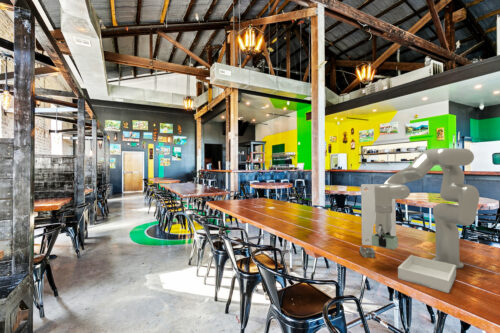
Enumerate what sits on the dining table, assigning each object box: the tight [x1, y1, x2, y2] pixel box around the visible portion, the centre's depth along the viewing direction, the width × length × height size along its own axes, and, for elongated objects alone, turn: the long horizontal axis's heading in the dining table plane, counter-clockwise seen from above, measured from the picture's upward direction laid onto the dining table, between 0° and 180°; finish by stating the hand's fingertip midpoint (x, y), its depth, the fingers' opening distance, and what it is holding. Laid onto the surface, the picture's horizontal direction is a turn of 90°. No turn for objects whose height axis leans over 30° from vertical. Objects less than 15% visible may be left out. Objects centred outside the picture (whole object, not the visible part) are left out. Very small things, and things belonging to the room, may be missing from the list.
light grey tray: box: [397, 254, 457, 294], centre depth 109 cm, size 22×18×5 cm
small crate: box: [371, 232, 399, 251], centre depth 119 cm, size 6×10×5 cm, turn 43°
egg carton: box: [359, 245, 376, 259], centre depth 138 cm, size 11×8×4 cm
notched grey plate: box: [360, 183, 397, 246], centre depth 160 cm, size 20×14×40 cm
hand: (384, 244), depth 119 cm, fingers closed on small crate, 6 cm apart
